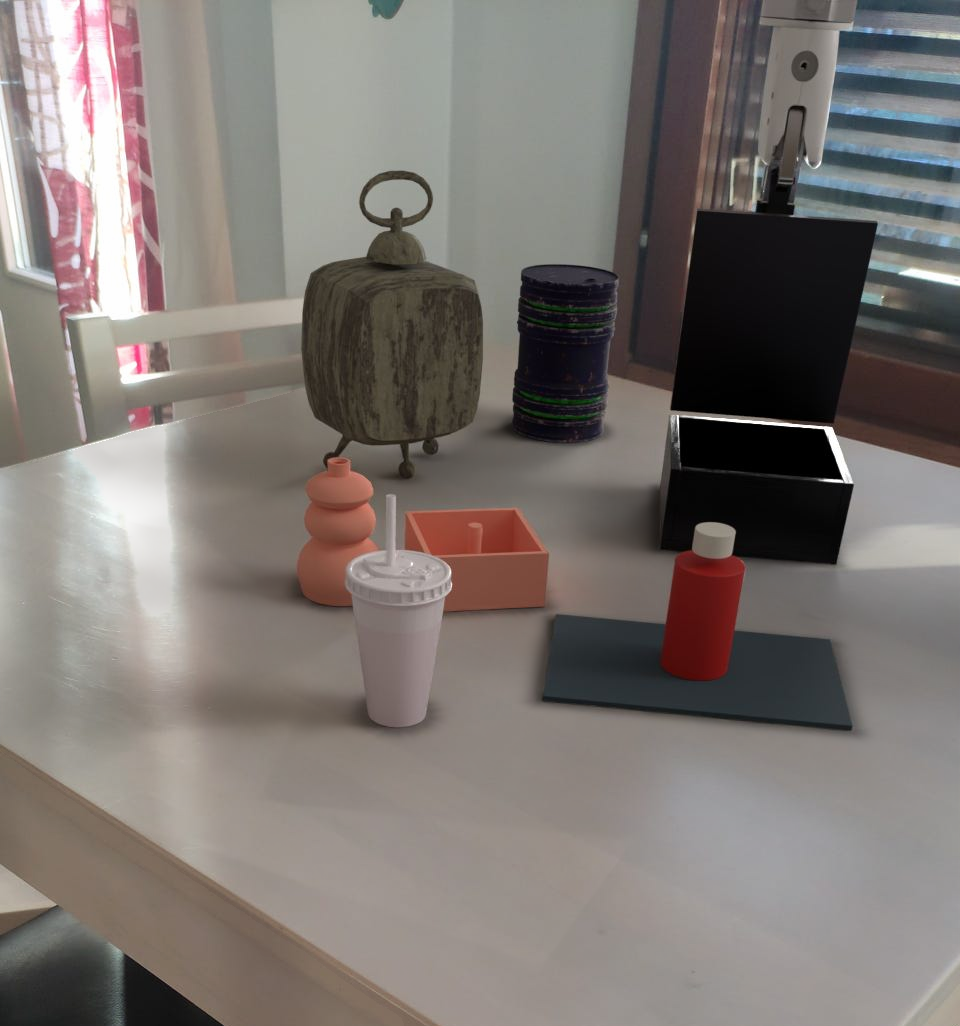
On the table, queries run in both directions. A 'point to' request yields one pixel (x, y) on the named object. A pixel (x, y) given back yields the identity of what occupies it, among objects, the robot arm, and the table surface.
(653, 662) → the mat
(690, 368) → the lid
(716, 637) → the ketchup
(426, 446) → the tabletop clock
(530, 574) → the pottery
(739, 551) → the box
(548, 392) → the dark purple barrel
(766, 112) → the robot arm
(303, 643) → the table surface
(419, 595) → the smoothie
